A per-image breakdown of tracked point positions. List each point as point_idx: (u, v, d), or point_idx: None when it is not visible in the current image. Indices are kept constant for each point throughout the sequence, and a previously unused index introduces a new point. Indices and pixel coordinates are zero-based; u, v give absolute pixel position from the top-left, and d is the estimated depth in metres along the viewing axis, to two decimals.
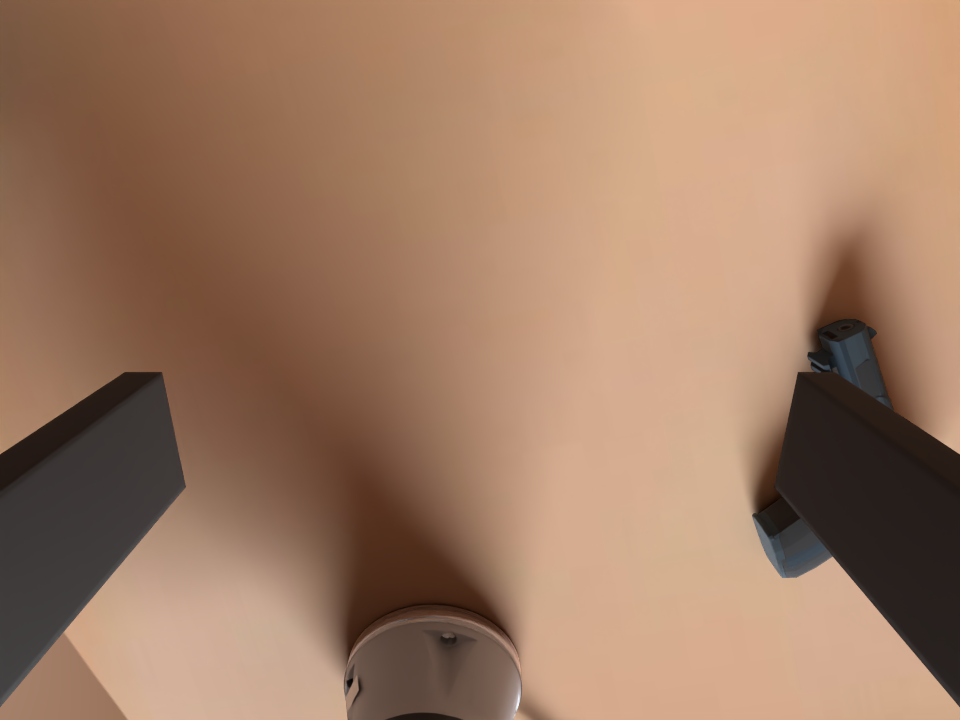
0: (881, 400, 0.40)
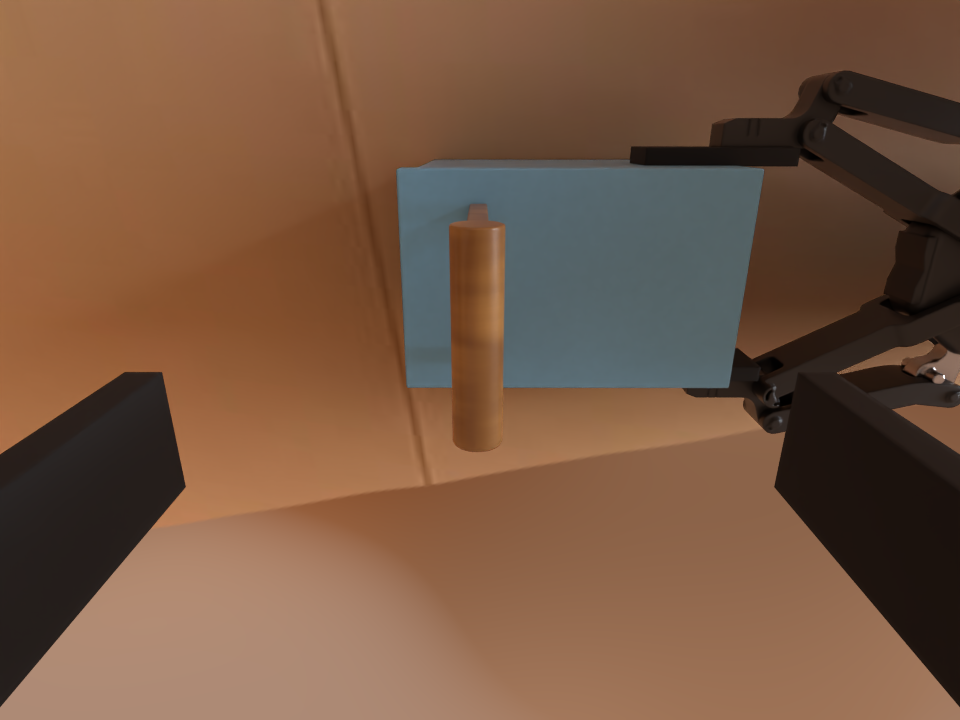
0: None
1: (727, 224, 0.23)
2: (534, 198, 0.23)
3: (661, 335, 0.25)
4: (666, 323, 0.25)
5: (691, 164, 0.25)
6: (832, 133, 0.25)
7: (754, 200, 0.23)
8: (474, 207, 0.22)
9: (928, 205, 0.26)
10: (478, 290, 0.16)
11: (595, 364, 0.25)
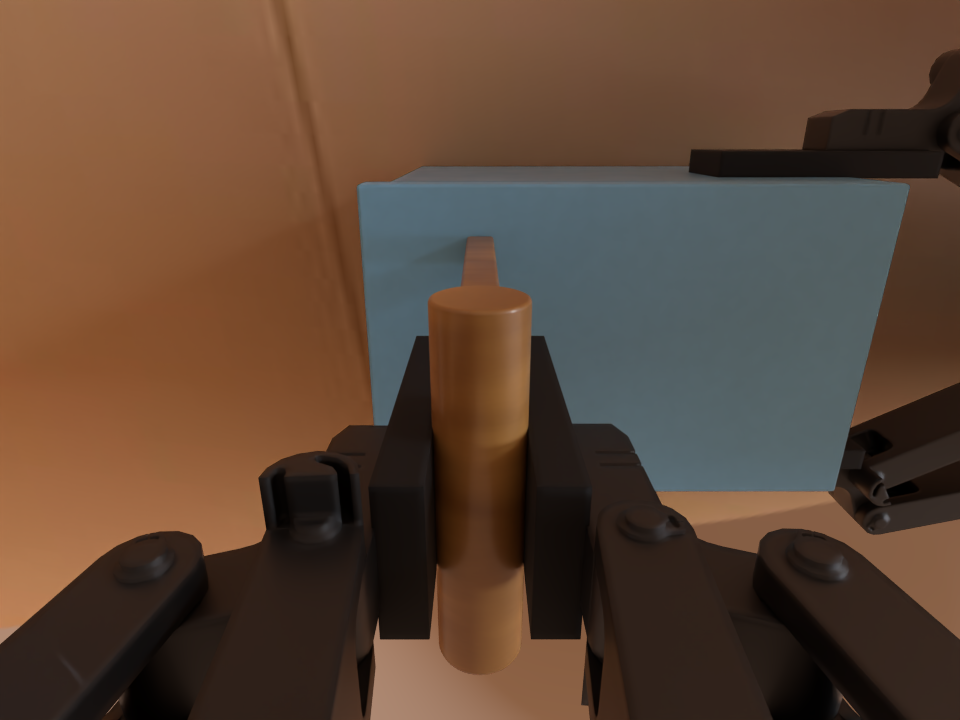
0: None
1: (848, 266, 0.16)
2: (564, 228, 0.15)
3: (742, 421, 0.17)
4: (750, 405, 0.17)
5: (785, 175, 0.17)
6: None
7: (891, 230, 0.15)
8: (474, 245, 0.14)
9: None
10: (482, 421, 0.09)
11: (646, 460, 0.18)
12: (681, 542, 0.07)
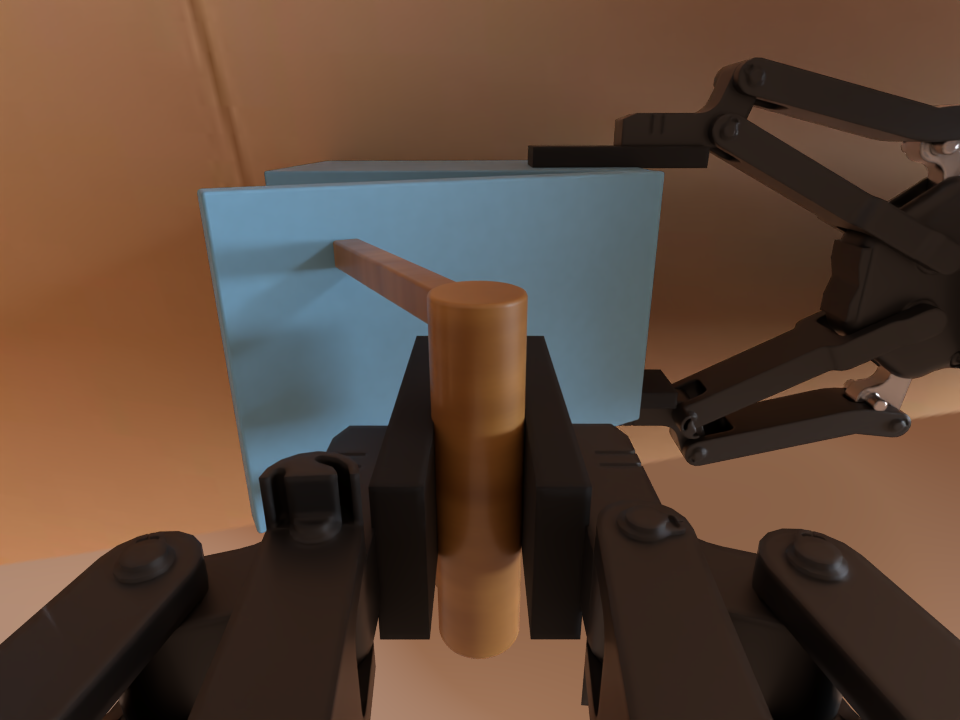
0: None
1: (633, 238, 0.20)
2: (424, 224, 0.16)
3: (576, 377, 0.20)
4: (580, 362, 0.20)
5: (585, 166, 0.22)
6: (745, 130, 0.22)
7: (657, 208, 0.20)
8: (358, 248, 0.14)
9: (860, 211, 0.22)
10: (503, 408, 0.09)
11: None
12: (681, 542, 0.07)
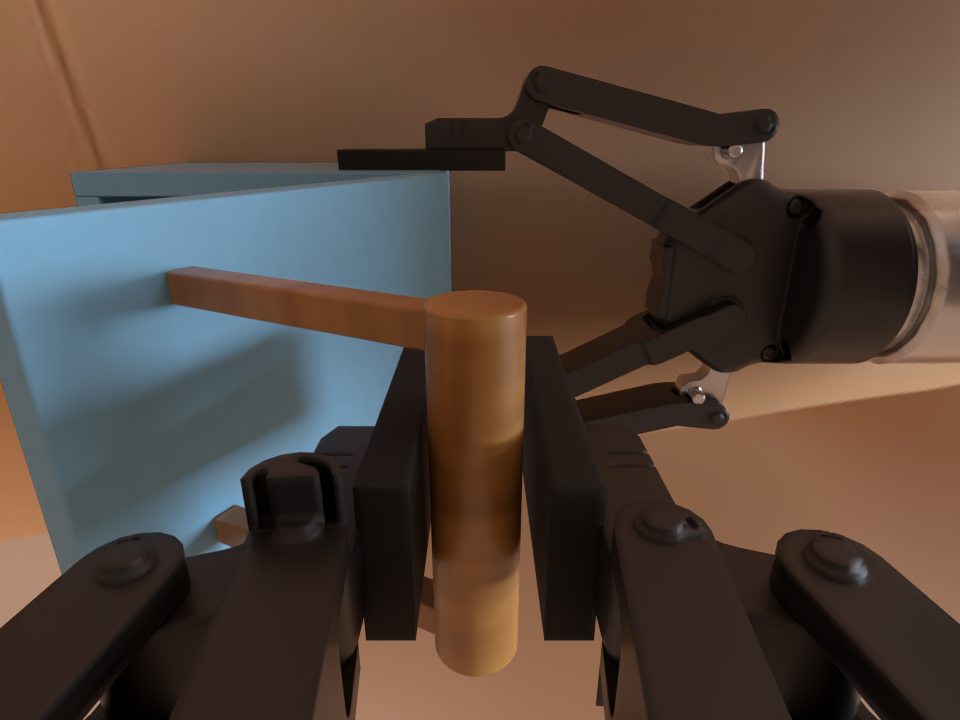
0: None
1: (433, 238, 0.21)
2: (261, 242, 0.14)
3: None
4: None
5: (389, 168, 0.23)
6: (539, 134, 0.23)
7: (446, 208, 0.21)
8: (222, 276, 0.11)
9: (656, 212, 0.24)
10: (518, 412, 0.09)
11: None
12: (699, 543, 0.07)
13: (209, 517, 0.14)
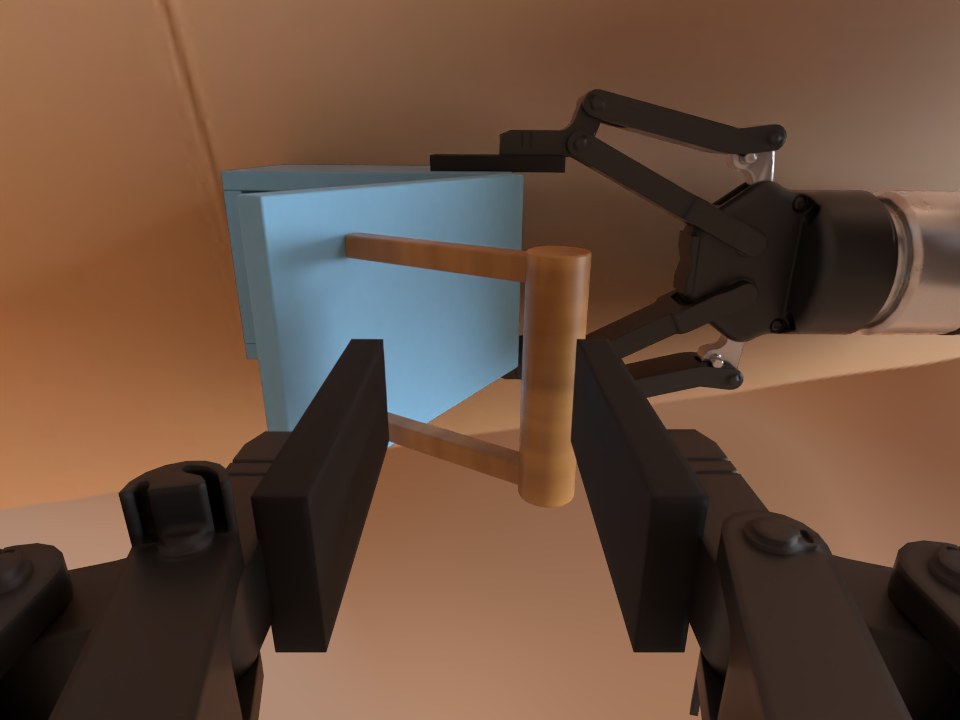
0: None
1: (510, 225, 0.26)
2: (398, 219, 0.20)
3: (484, 337, 0.26)
4: (486, 324, 0.26)
5: (471, 170, 0.28)
6: (592, 143, 0.28)
7: (521, 201, 0.26)
8: (384, 237, 0.17)
9: (685, 207, 0.29)
10: (583, 322, 0.15)
11: (450, 384, 0.24)
12: (814, 558, 0.07)
13: None
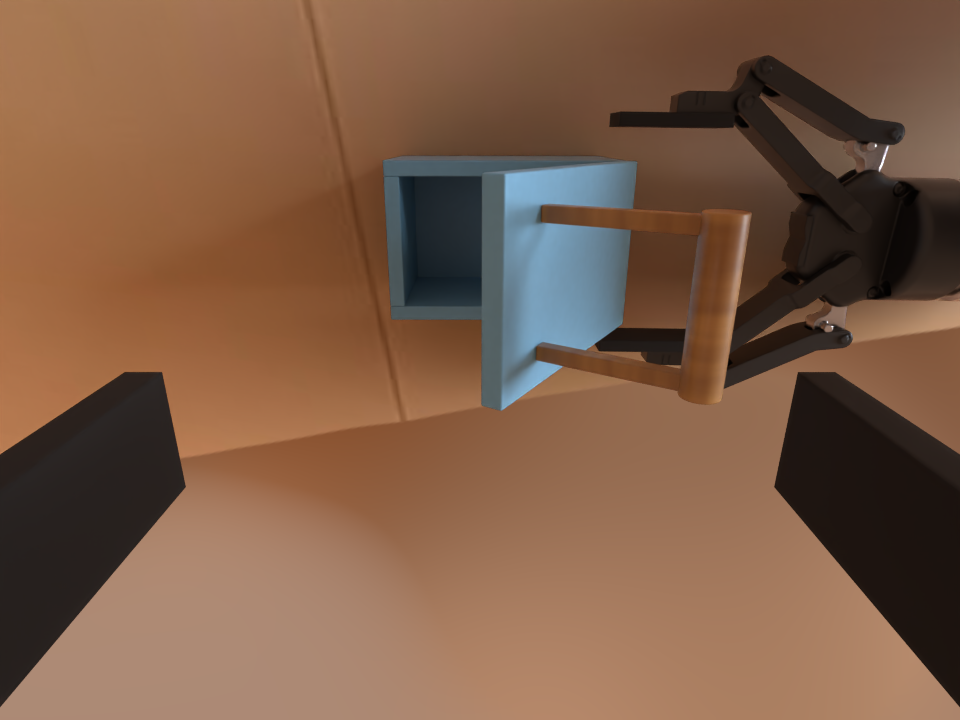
0: None
1: (627, 203, 0.32)
2: (568, 194, 0.25)
3: (605, 295, 0.32)
4: (607, 285, 0.31)
5: (654, 125, 0.33)
6: (758, 105, 0.33)
7: (634, 184, 0.32)
8: (576, 206, 0.23)
9: (815, 178, 0.34)
10: (742, 264, 0.20)
11: (584, 332, 0.30)
12: None
13: (535, 344, 0.25)
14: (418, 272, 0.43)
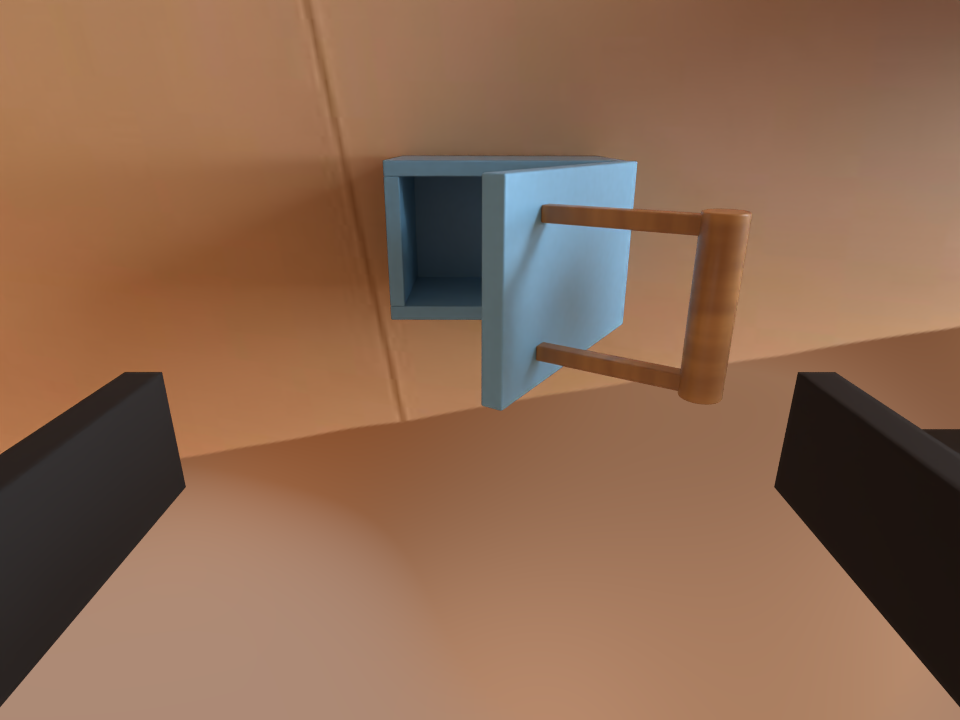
0: None
1: (627, 203, 0.32)
2: (568, 194, 0.25)
3: (605, 295, 0.32)
4: (607, 285, 0.31)
5: None
6: None
7: (634, 184, 0.32)
8: (576, 206, 0.23)
9: None
10: (742, 264, 0.20)
11: (584, 332, 0.30)
12: None
13: (535, 344, 0.25)
14: (418, 272, 0.43)
